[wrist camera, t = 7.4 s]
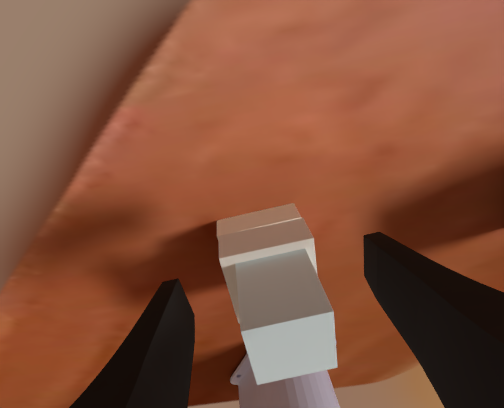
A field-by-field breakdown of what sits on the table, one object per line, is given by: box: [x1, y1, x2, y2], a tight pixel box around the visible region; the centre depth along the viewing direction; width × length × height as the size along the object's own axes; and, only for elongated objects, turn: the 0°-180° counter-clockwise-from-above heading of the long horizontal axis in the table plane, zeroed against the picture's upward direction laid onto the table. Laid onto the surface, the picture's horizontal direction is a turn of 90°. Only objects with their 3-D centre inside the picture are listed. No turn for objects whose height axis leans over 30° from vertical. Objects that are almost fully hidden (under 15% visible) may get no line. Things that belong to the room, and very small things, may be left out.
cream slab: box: [217, 203, 301, 242], centre depth 22 cm, size 6×6×2 cm
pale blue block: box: [235, 249, 337, 385], centre depth 17 cm, size 4×4×5 cm
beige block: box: [219, 218, 317, 323], centre depth 20 cm, size 6×6×2 cm
